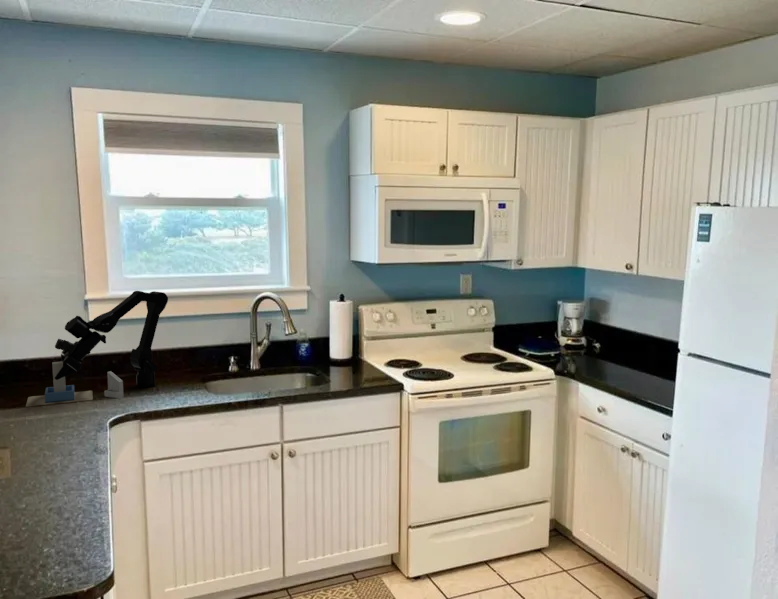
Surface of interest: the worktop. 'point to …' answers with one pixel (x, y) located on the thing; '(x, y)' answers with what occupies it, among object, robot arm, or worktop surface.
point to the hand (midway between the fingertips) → (54, 376)
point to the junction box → (59, 394)
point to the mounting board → (78, 397)
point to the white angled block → (114, 386)
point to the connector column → (60, 383)
